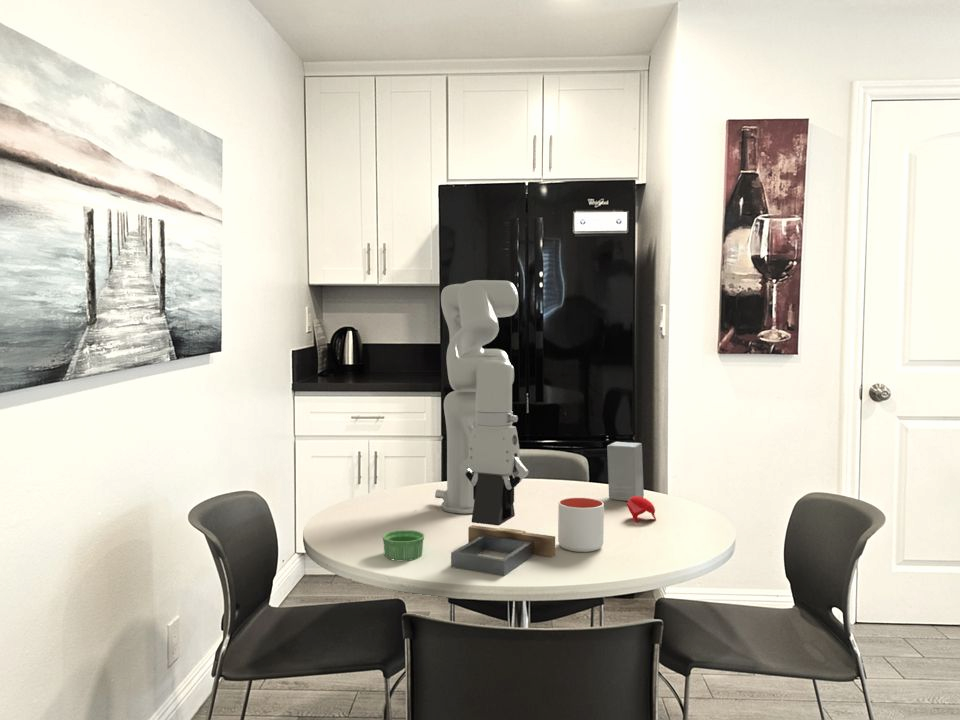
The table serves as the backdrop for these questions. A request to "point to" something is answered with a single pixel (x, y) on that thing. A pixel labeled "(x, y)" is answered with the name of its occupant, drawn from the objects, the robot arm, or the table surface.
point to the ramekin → (403, 544)
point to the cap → (640, 507)
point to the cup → (580, 524)
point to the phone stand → (490, 501)
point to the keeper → (472, 561)
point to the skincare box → (625, 470)
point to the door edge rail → (542, 543)
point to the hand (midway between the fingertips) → (493, 504)
